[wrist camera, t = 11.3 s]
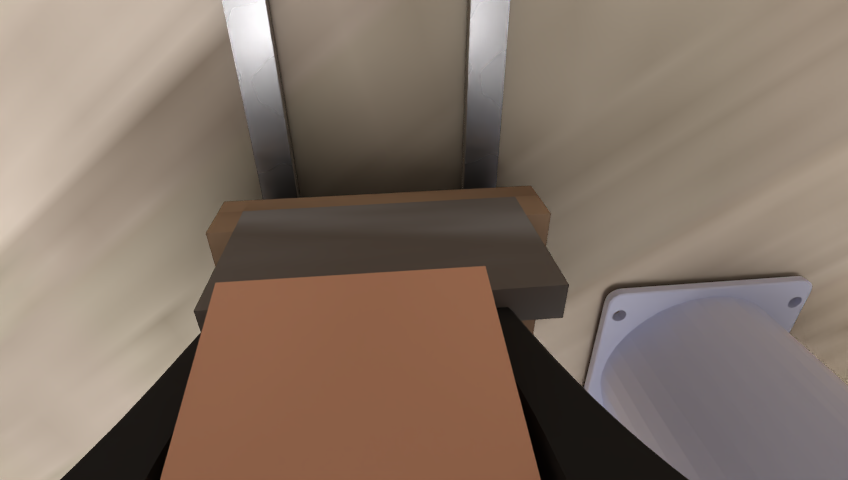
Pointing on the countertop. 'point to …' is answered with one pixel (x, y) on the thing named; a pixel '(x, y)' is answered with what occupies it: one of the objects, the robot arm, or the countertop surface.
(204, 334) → the terracotta block
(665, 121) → the countertop surface
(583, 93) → the countertop surface
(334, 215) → the cart
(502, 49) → the rails
